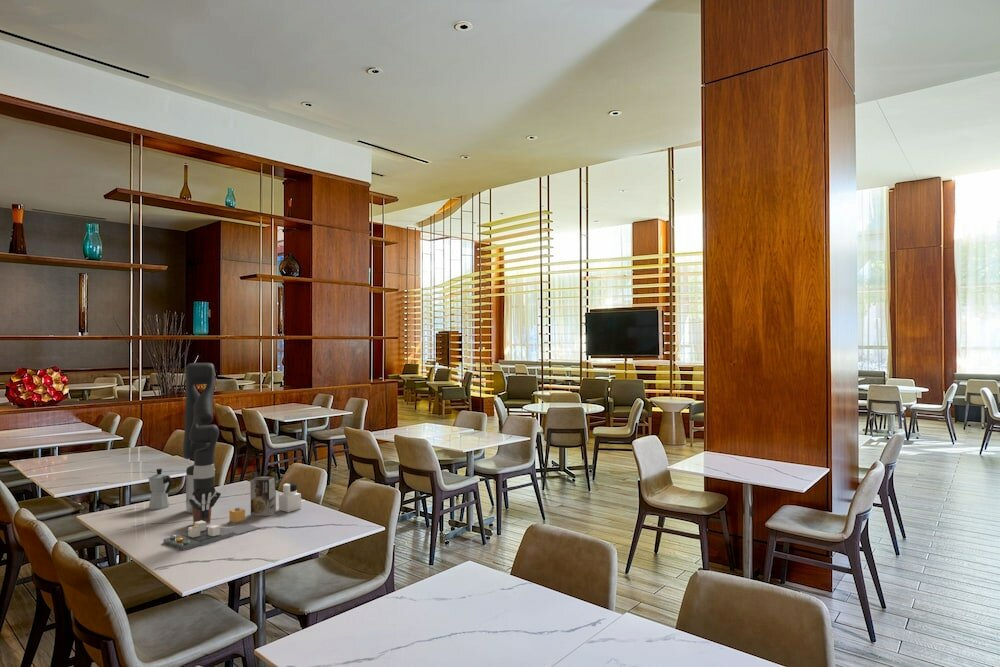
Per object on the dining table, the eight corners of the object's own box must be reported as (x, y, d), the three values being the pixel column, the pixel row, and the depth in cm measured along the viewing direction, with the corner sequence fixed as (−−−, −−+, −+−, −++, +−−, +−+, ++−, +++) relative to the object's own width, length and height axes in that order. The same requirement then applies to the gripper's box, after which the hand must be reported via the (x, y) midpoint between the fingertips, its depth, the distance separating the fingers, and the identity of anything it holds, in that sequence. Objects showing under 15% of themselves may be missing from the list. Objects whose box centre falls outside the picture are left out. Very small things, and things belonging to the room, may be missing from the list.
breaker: (207, 534, 226) (207, 526, 226) (214, 532, 228) (214, 524, 228) (212, 536, 224) (212, 528, 224) (219, 534, 226) (219, 526, 226)
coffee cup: (185, 527, 242) (185, 498, 242) (196, 520, 251) (196, 492, 251) (207, 526, 242) (207, 498, 242) (217, 520, 251) (217, 492, 251)
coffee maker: (140, 508, 270) (141, 469, 271) (158, 503, 278) (158, 466, 279) (163, 511, 264) (163, 472, 265) (180, 506, 273) (180, 468, 273)
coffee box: (276, 512, 263) (276, 476, 263) (269, 516, 256) (269, 479, 257) (257, 511, 264) (257, 476, 264) (249, 515, 257) (249, 479, 258)
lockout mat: (223, 530, 237) (223, 529, 237) (246, 524, 245) (246, 523, 245) (237, 535, 231) (237, 534, 231) (260, 528, 239) (260, 527, 239)
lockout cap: (229, 522, 248) (229, 508, 248) (239, 519, 252) (239, 506, 252) (235, 524, 246) (235, 510, 246) (245, 521, 249) (245, 507, 249)
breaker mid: (188, 535, 225) (188, 527, 225) (195, 533, 227) (195, 525, 227) (192, 537, 223) (192, 528, 223) (200, 535, 225) (200, 526, 225)
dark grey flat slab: (163, 542, 223) (163, 536, 223) (214, 529, 239) (214, 522, 239) (183, 550, 214) (183, 543, 214) (234, 535, 230) (234, 529, 230)
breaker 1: (194, 530, 232) (194, 522, 232) (201, 528, 234) (201, 520, 234) (199, 531, 230) (199, 523, 230) (206, 529, 232) (206, 521, 232)
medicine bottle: (292, 506, 272) (292, 480, 272) (301, 508, 268) (301, 482, 268) (278, 510, 266) (278, 483, 266) (287, 512, 262) (287, 486, 262)
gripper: (215, 471, 236) (215, 513, 236) (182, 477, 225) (182, 521, 225) (225, 473, 232) (225, 516, 232) (192, 480, 221) (191, 525, 221)
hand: (204, 519), depth 228 cm, fingers closed
